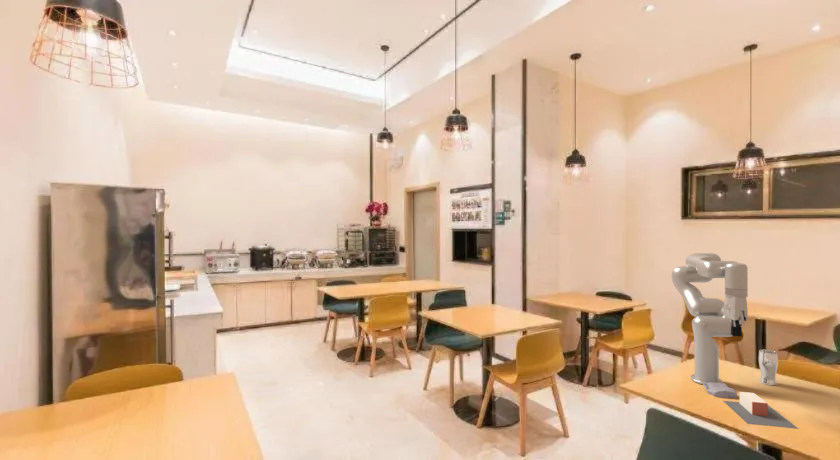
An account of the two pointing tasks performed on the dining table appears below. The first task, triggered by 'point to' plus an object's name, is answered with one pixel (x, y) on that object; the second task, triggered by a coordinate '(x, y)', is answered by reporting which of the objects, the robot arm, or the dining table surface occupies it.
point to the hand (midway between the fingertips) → (736, 335)
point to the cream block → (753, 404)
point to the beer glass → (768, 366)
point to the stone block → (720, 390)
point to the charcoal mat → (769, 420)
